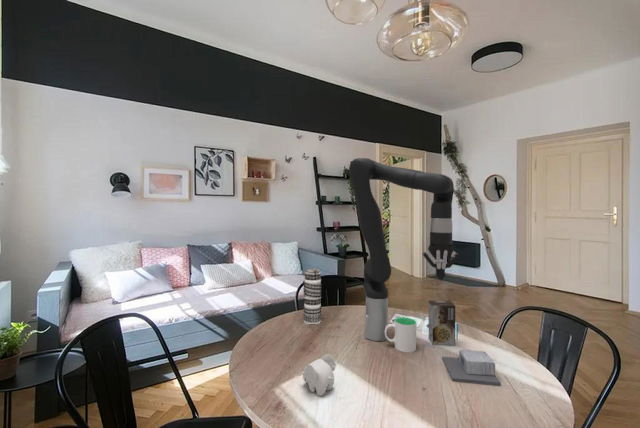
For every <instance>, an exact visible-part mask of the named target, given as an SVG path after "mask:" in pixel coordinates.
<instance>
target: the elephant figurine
mask: <svg viewBox="0 0 640 428" xmlns="http://www.w3.org/2000/svg"><path fill="white" fill-rule="evenodd" d="M336 368H337V364H336V362H335V360H334V358H333V357H332V356H331V355H330V354H328V353H326V354H323V355H322V356H321V358H318V359H316V360H314V361H312V362H310V363H309V364H307V365H305V367H304V371H303V372H302V373H299V374H298V376H299V377H300V376H302V378H303V379H302V380H303V381H304V383H306V384H308V387H309V388H308V389H309V392H312V393H315V392H316V395H317V396H318V397H322V396H324V395H325V393H326V391H330V390H332V388H333V387H334V384H335V374H334V371H335V370H336Z"/></svg>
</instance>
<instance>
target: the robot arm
mask: <svg viewBox="0 0 640 428" xmlns="http://www.w3.org/2000/svg"><path fill="white" fill-rule="evenodd" d="M348 174H349V178H350V181H351V185H352V189H353V192H354V196H355V198H354V199H355V203H356V204H355V205H356V210H357V215H358V221H359V222H358V223H359V228H360V232H361V234H362V237H363V239H364V242H365V243H366V245H367V248H368V252H369V258H368V259H367V260H366V262H365V264H364V267H363V279H364V280H363V283H364V285H363V286H364V290H365V332H364V333H365V335H364V338H365V339H367V340H370V341H375V342H383V341H386V340H387V338H386V337H385V328H386V326H387V325H388V324H389V290H388V288H387V286H386V284H385V283H386V282H387V281H388V280H389V279H390V278H391V275H392V265H391V262H390V259H389V256H388V255H389V254H388V251H387V246H386V240H385V239H386V238H385V233H384V232H385V231H384V225H383V219H382V213H381V210H380V207H379V204H378V203H377V201H376V199H375V197H374V195H373V192H372V188H371V180H376V181H385V182H388V183H391V184H394V185H396V186H399V187H403V188H407V189H412V190H417V191H423V192H428V193H430V194H433V198H432V199H433V201H432V203H431V206H430V222H429V245H428V248H427V249H426V251H423V252H422V256H423V257H424V258H425V260H426V261H427V263H428V264H429V265H430V266H431V267H432V268H435V277H436V278H437V280H440V281H441V280H442V281H443V280H444V278H445V277H446V269H448V268H451V267H452V266H453V265H454V264H455V263H456V261H457V260H458V259H459V258H460V256H461V255H460V254H459V253H457V252H456V251H455V250H454V247H453V211H452V210H453V205H452V204H453V200H454V199H453V198H454V191H455V189H454V188H455V187H454V180H453V179H452V178H451V177H449V176H448V175H445V174H443V173H434V172H424V171H422V170H417V169H411V168H404V167H397V166H392V165H387V164H384V163H381V162H378V161H376V160H373V159H370V158H367V157H366V158H365V157H362V158H361V157H359V158H354V159H353V160H352V161H351V162H350V164H349V167H348ZM431 256H432V257H433V258H434V261H433V260H432V259H431ZM450 256H451V258H449V257H450ZM447 259H449V260H448V261H447ZM388 330H389V328H388V329H387V331H386V334H387V337H388V338H389V336H388V335H389V333H388V332H389V331H388Z"/></svg>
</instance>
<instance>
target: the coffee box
mask: <svg viewBox="0 0 640 428" xmlns="http://www.w3.org/2000/svg"><path fill="white" fill-rule="evenodd" d="M427 336H428V340H429V342H430V344H431V345H434V346H456V305H455V304H454V303H453V302H452V300H428V335H427Z"/></svg>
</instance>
